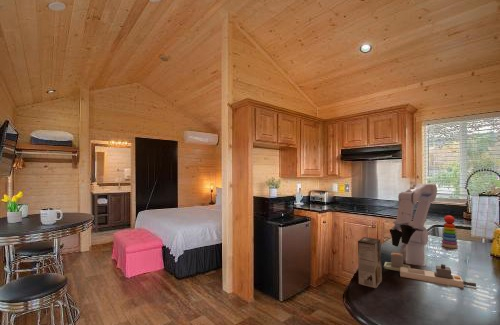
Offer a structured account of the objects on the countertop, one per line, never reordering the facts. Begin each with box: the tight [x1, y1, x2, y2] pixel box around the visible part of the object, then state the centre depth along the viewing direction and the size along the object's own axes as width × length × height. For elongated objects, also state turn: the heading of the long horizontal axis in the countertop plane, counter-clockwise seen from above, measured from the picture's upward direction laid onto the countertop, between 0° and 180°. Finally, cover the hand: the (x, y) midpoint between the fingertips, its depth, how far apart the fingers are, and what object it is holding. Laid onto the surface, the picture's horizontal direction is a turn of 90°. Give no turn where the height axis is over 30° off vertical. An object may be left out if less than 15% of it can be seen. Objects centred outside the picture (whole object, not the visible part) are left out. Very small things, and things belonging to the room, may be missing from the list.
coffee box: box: [357, 236, 383, 289], centre depth 99 cm, size 9×6×16 cm
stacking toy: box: [441, 215, 459, 249], centre depth 157 cm, size 8×8×19 cm
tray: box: [383, 261, 411, 272], centre depth 115 cm, size 8×10×1 cm
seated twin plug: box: [435, 263, 452, 279], centre depth 100 cm, size 4×4×6 cm
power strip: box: [399, 267, 477, 289], centre depth 101 cm, size 7×24×3 cm, turn 58°
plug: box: [390, 252, 404, 268], centre depth 115 cm, size 4×4×6 cm
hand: (399, 244), depth 112 cm, fingers open, 7 cm apart
